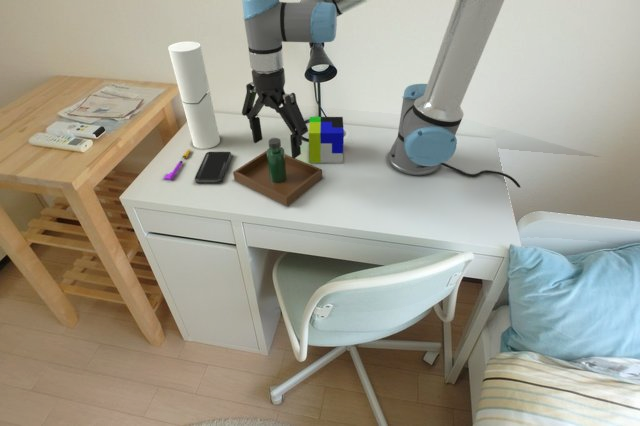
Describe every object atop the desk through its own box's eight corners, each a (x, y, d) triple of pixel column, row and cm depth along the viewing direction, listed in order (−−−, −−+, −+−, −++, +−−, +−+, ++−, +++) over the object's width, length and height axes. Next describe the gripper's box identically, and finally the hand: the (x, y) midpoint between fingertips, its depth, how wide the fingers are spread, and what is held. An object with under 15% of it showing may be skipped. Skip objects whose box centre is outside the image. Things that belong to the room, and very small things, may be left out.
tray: (322, 178, 108) (322, 169, 106) (287, 207, 98) (286, 197, 96) (271, 156, 117) (270, 147, 115) (234, 180, 107) (232, 171, 105)
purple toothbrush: (172, 180, 107) (192, 150, 119) (170, 177, 106) (190, 147, 119) (164, 181, 108) (184, 152, 120) (162, 178, 107) (182, 149, 119)
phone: (193, 180, 106) (206, 151, 117) (194, 183, 106) (207, 154, 118) (221, 180, 105) (232, 151, 117) (222, 183, 106) (232, 154, 117)
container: (223, 135, 127) (204, 41, 107) (215, 149, 120) (193, 51, 100) (198, 134, 127) (175, 41, 107) (189, 148, 121) (162, 51, 101)
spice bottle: (290, 176, 108) (287, 139, 100) (278, 185, 105) (275, 147, 97) (277, 171, 110) (273, 134, 102) (266, 179, 107) (261, 142, 99)
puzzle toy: (342, 162, 114) (343, 133, 107) (309, 162, 114) (308, 133, 107) (341, 145, 121) (342, 116, 115) (310, 145, 122) (309, 116, 115)
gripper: (321, 74, 83) (322, 156, 97) (241, 53, 95) (252, 129, 109) (299, 85, 79) (304, 169, 93) (218, 62, 90) (233, 140, 104)
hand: (276, 148), depth 101 cm, fingers open, 13 cm apart
